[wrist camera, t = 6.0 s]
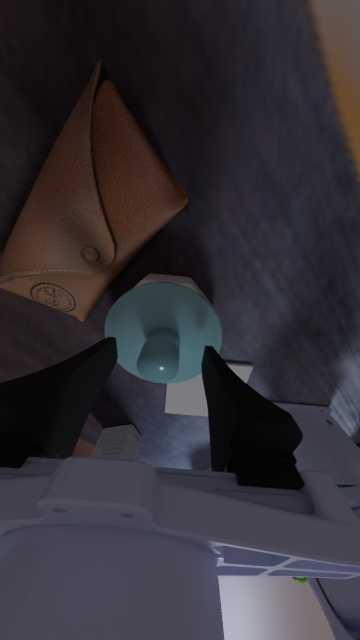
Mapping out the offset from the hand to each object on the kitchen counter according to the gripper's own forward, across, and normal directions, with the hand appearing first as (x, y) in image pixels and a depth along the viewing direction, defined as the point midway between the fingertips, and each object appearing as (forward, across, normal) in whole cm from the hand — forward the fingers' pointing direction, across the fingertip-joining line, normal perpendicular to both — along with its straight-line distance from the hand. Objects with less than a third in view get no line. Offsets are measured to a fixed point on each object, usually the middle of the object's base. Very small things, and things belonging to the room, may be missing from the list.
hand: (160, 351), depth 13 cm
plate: (+6, -6, +11) cm, 14 cm away
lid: (+3, 0, 0) cm, 3 cm away
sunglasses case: (+7, +7, -8) cm, 12 cm away
